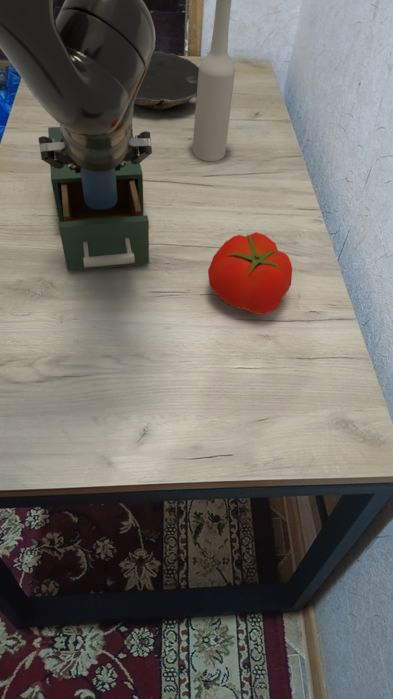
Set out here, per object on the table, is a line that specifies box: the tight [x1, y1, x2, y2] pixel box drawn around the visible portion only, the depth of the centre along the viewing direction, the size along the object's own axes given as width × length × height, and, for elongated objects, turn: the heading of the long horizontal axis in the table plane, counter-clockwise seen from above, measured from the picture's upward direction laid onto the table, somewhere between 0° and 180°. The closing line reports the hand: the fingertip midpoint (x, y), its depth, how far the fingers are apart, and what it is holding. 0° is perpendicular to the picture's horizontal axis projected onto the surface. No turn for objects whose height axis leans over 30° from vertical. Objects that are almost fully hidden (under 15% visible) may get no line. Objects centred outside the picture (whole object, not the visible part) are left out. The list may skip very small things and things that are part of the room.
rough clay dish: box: [134, 51, 199, 112], centre depth 108 cm, size 22×22×5 cm
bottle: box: [192, 0, 236, 162], centre depth 87 cm, size 7×7×28 cm
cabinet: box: [47, 126, 144, 223], centre depth 82 cm, size 15×14×10 cm
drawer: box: [58, 179, 150, 272], centre depth 74 cm, size 18×12×8 cm
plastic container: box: [80, 167, 118, 210], centre depth 69 cm, size 5×5×9 cm
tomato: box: [207, 231, 293, 315], centre depth 72 cm, size 13×12×8 cm
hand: (96, 164), depth 70 cm, fingers closed on plastic container, 5 cm apart
